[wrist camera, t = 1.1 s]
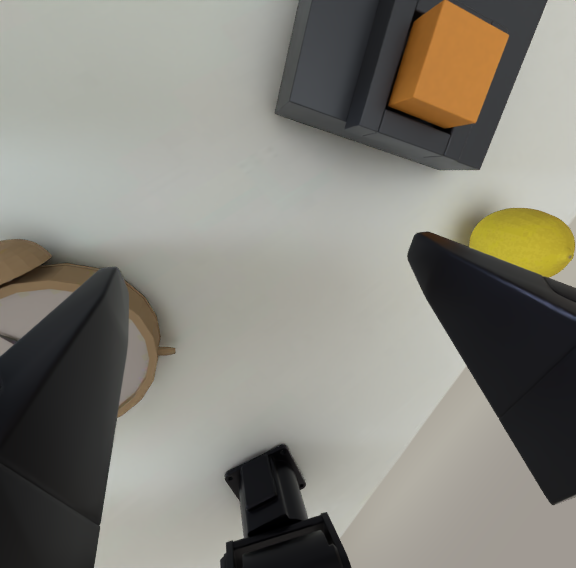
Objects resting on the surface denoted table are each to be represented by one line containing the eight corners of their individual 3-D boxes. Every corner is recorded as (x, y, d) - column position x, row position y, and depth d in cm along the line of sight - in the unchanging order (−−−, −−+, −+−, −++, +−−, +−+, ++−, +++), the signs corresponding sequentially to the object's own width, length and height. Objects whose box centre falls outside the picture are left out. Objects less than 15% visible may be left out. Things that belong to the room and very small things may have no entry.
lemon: (507, 202, 28) (615, 213, 20) (494, 262, 30) (588, 291, 22) (454, 204, 26) (548, 217, 19) (444, 267, 28) (526, 300, 21)
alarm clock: (96, 455, 23) (-225, 383, 14) (104, 404, 27) (-142, 325, 18) (196, 344, 22) (-87, 198, 13) (189, 309, 26) (-32, 180, 17)
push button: (437, 176, 25) (502, 177, 20) (272, 120, 21) (296, 102, 15) (498, 10, 22) (595, -43, 17) (319, -94, 18) (369, -212, 12)
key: (444, 129, 18) (476, 123, 16) (386, 106, 17) (413, 96, 15) (472, 51, 17) (510, 34, 15) (412, 21, 16) (445, -3, 14)
